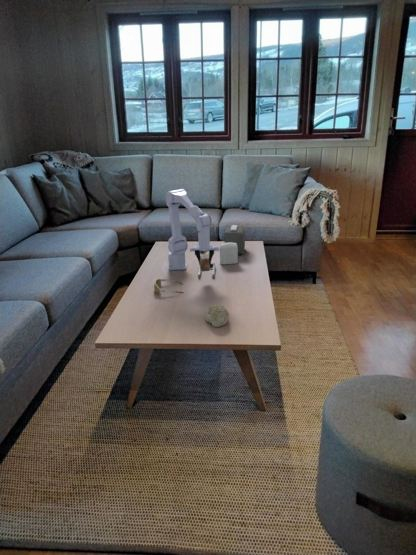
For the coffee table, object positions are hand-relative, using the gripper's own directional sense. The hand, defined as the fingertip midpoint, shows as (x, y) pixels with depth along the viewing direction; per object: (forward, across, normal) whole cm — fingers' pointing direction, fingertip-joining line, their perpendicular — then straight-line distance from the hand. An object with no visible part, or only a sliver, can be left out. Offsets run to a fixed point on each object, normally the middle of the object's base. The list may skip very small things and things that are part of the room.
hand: (205, 264), depth 212 cm
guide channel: (+9, 0, +12) cm, 15 cm away
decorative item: (+10, +7, -43) cm, 45 cm away
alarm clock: (+10, +16, +45) cm, 49 cm away
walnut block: (+2, 0, -1) cm, 2 cm away
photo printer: (+10, +12, +25) cm, 29 cm away
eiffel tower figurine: (+10, -4, +46) cm, 47 cm away
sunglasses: (+10, -18, -10) cm, 23 cm away
